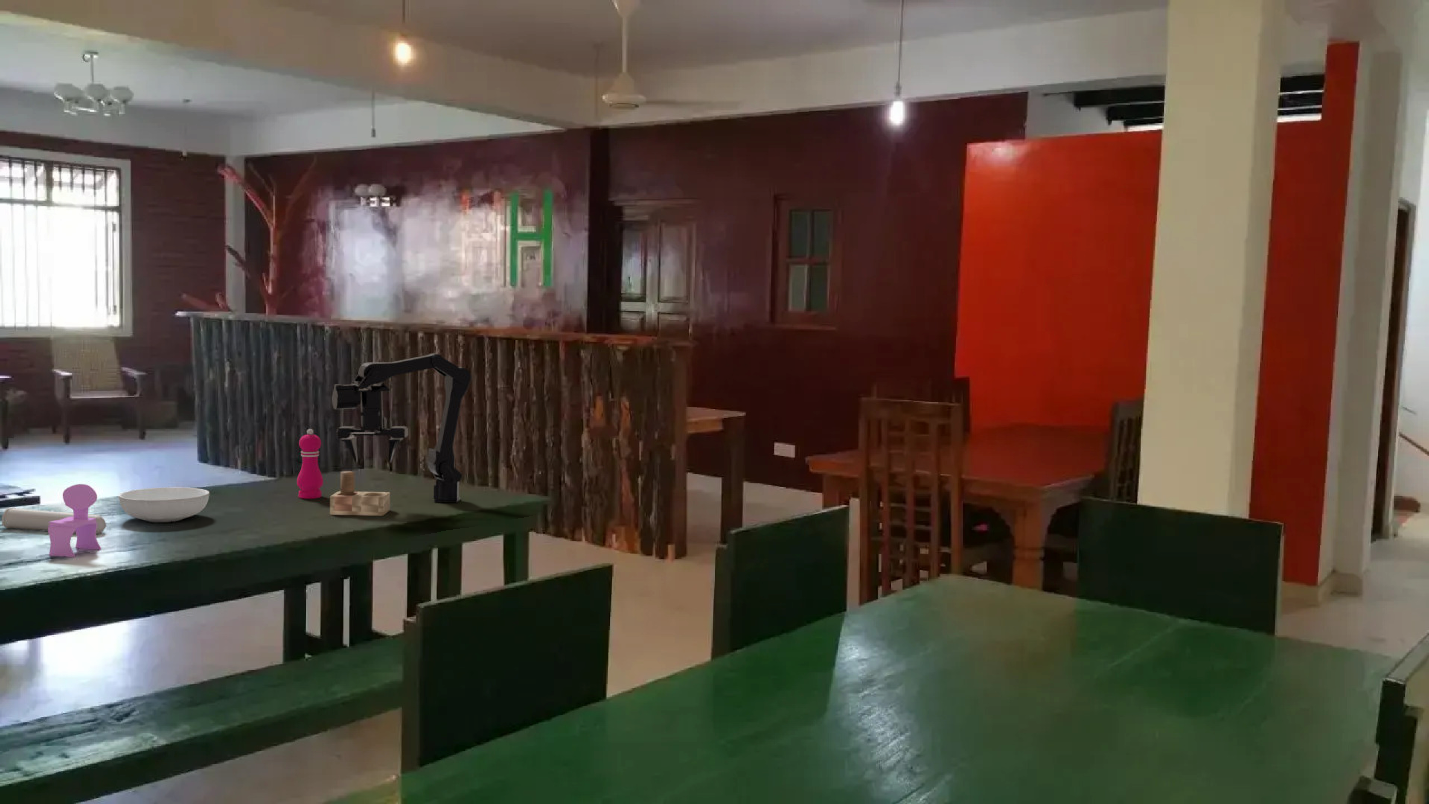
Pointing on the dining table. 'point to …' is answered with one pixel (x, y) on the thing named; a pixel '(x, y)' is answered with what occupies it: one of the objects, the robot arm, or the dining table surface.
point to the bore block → (360, 503)
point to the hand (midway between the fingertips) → (373, 462)
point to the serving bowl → (163, 503)
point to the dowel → (347, 483)
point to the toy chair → (74, 522)
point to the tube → (40, 519)
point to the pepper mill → (310, 467)
